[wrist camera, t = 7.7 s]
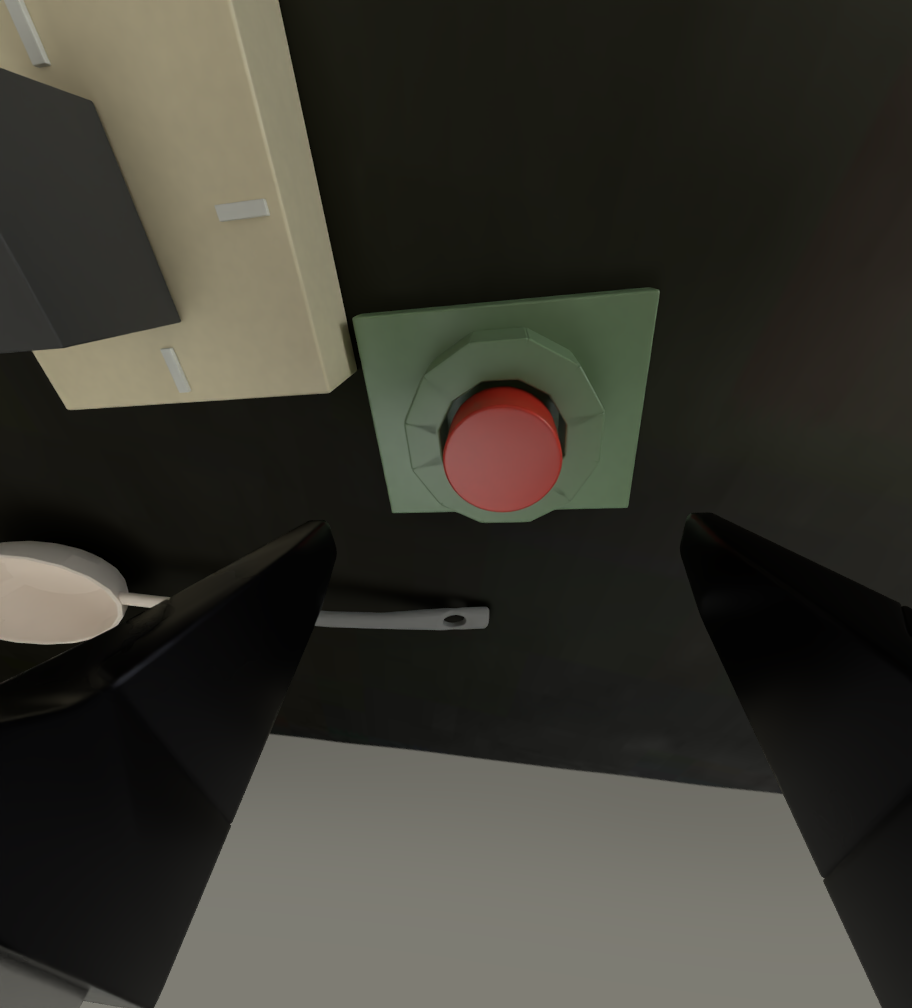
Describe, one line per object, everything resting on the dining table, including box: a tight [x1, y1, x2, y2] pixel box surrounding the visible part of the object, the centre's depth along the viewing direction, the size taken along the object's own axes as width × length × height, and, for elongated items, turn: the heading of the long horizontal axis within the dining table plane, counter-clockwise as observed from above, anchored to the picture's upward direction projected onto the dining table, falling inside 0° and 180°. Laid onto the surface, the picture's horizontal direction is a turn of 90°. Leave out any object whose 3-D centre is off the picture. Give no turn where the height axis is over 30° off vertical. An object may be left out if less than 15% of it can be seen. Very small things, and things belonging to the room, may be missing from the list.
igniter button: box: [443, 386, 563, 512], centre depth 13 cm, size 4×4×2 cm
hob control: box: [0, 0, 357, 410], centre depth 13 cm, size 10×10×3 cm
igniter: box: [352, 287, 660, 523], centre depth 15 cm, size 10×8×3 cm
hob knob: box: [0, 68, 181, 354], centre depth 10 cm, size 5×2×4 cm, turn 5°
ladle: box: [0, 541, 489, 644], centre depth 22 cm, size 6×28×5 cm, turn 86°
